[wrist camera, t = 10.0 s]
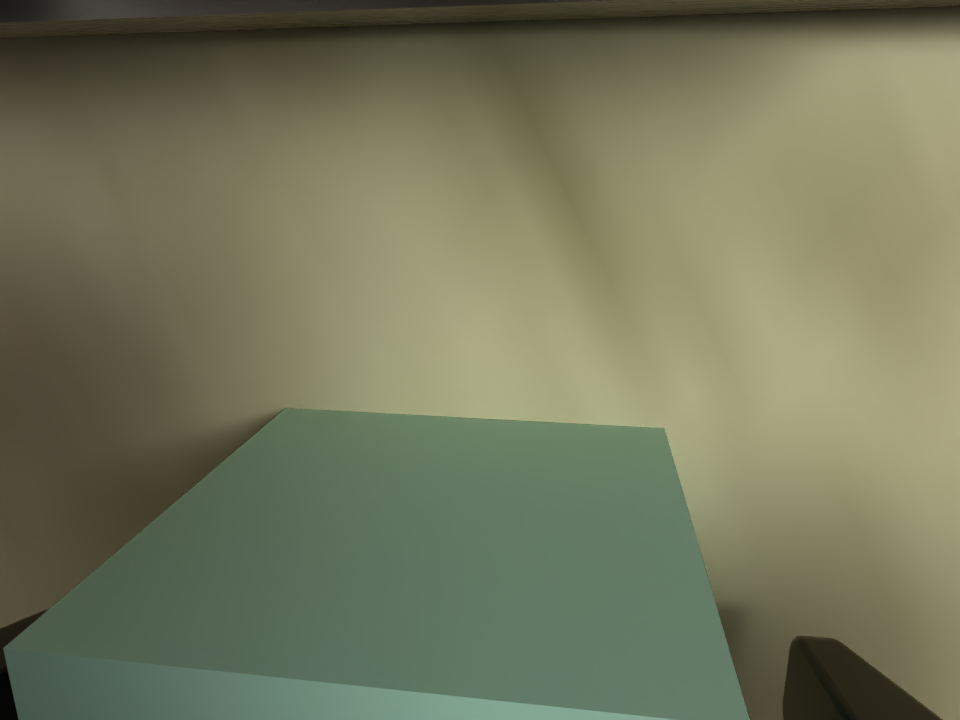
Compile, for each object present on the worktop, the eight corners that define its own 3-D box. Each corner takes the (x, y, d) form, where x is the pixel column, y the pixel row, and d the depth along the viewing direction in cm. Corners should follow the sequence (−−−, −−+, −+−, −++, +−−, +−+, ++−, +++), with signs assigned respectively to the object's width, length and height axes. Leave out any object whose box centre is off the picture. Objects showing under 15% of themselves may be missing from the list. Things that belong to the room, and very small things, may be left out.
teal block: (638, 744, 9) (683, 1241, 5) (311, 708, 10) (105, 1124, 6) (663, 426, 8) (751, 727, 4) (287, 405, 9) (3, 647, 4)
